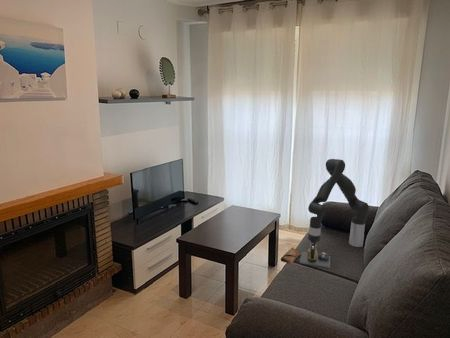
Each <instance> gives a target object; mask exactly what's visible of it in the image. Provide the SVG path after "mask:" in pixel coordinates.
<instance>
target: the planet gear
mask: <svg viewBox="0 0 450 338" xmlns="http://www.w3.org/2000/svg"><path fill="white" fill-rule="evenodd" d="M307 252H308V255H307V258H309V259H310V256H311V253H310V252H311V250H310V248H308V249H307ZM312 252H313V251H312ZM317 254H318V250H317V249H316V250H315V254H314V259H311V260H316V259H317Z"/></svg>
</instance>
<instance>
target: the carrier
mask: <svg viewBox="0 0 450 338" xmlns="http://www.w3.org/2000/svg"><path fill="white" fill-rule="evenodd" d="M300 253H301V256H300V257H299V264H302V265H303V264H304V265H309V266H310V265H311V266H316V267H322V268H327V269H331V255H330V254H329V253H327V252H325V251H320V252H317V259H316V260H311V259H309V258H307V255H308V251H301V252H300Z"/></svg>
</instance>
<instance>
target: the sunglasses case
mask: <svg viewBox="0 0 450 338" xmlns="http://www.w3.org/2000/svg"><path fill="white" fill-rule="evenodd" d="M300 257H301V252H299V250H297V249H296V248H294V247H291V248H290V249H289V250H288V251H287V252H285V254H283V255H282V257H280V261H281V263H282V262H283V263H286V264H288V265H294V263H295V261H297V259H299V258H300Z"/></svg>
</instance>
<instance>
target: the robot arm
mask: <svg viewBox="0 0 450 338" xmlns="http://www.w3.org/2000/svg"><path fill="white" fill-rule="evenodd" d="M325 169H326V171H327V172H328V174H329V175H330V177H329V178H328V179H327V180H326V181H325V182H324V183H323V184H322V185H321V186H320V187H319V189H318V191H317V194H316V196H315V197H314V198H313V199H312V201H311V202H310V203H309V205H308V208H307V209H308V212H309V213H310V214H312V215H313V214H314V215H316V216H311V217H310V219H309V227H308V233H307V234H308V235H307V237H308V238H307V239H308V240H309V241H310V245H309V246H310V248H309V249H310V250H311V252H310V253H311V256H310V259H314V254H315V250H317V246H318V244H317V243H318V242H320V241H321V234H322V220H323V218H324V215H325V213H326V210H327V209H326V207H325V205H324V204H321V203H326V202H327V201H328V199H329V197H330V194H331V193H332V190H333V188H334V186H335V185H336V184H337V186H338V188H339V189H340V191H341V193H342V194H343V196H344V197H345V199H346V201H347V203H348V205H349V208H350V209H351V211H352V212H354V213H356V214H357V216H353V217H351V223H350V232H349V240H348V244H349V245H350V247H351V246H352V247H356V248H363V245H364V238H365V229H366V228H365V227H366V222H367V219H368V216H369V214H368V213H369V209H370V208H369V207H370V206H369V204H368V202H365V201H364V200H363V201H362V200H360V199H359V198H358V197H357V196H356V191H357V189H356V186H355V184H354V182H353V181H352V180H351V179H350V178H349V177H348V176H346V175H345V174H343V173H344V171H345V169H346V162H345V161H344V160H343V159H338V158H329V159H327V160H326V161H325ZM312 251H313V252H312Z"/></svg>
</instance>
